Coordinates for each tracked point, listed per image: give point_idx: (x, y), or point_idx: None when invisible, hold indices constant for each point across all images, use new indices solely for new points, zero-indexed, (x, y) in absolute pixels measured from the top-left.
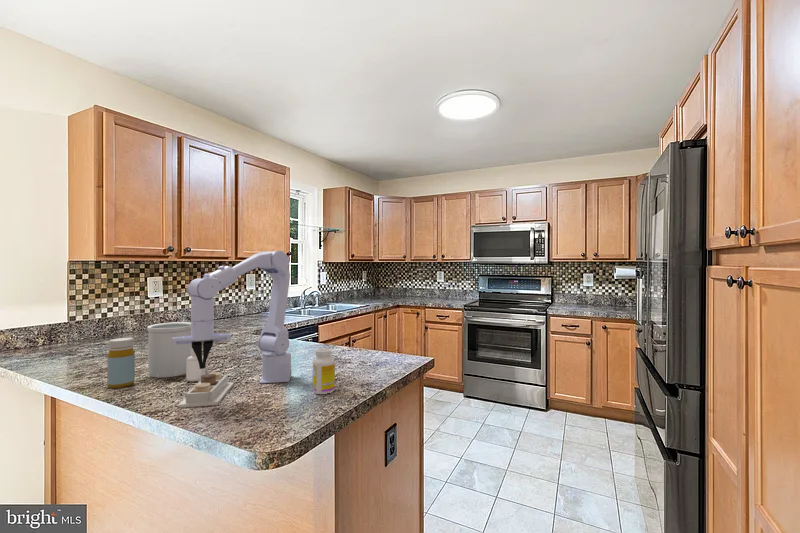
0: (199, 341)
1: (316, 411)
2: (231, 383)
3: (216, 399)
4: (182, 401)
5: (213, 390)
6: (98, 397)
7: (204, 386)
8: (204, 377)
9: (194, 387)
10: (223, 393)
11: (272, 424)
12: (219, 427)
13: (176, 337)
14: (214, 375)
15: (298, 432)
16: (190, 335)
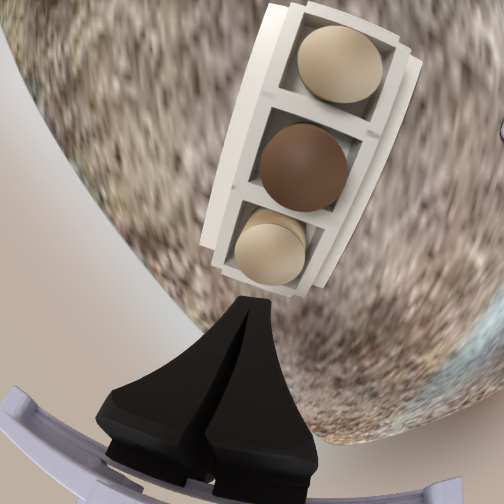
0: (177, 488)
1: (456, 394)
2: (412, 72)
3: (324, 261)
4: (208, 218)
5: (314, 278)
6: (18, 56)
7: (277, 285)
8: (279, 200)
9: (237, 258)
10: (361, 205)
11: (378, 410)
12: (300, 391)
13: (4, 430)
14: (337, 188)
15: (389, 430)
16: (51, 476)
